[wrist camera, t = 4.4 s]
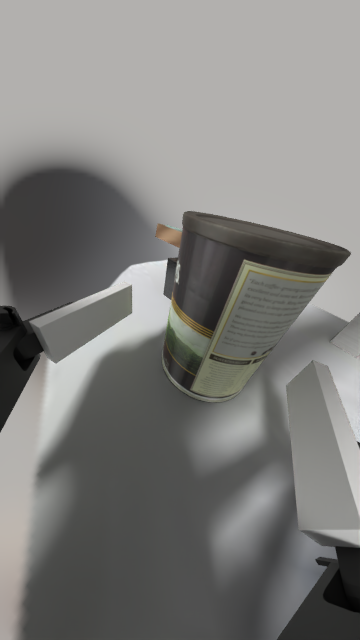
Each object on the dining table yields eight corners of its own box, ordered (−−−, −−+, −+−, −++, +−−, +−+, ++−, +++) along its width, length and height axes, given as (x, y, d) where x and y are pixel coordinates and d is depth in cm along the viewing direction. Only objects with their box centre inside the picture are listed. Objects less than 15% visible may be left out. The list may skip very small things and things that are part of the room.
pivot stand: (283, 296, 40) (309, 255, 34) (216, 335, 23) (245, 267, 17) (221, 267, 51) (232, 232, 45) (143, 279, 34) (146, 225, 28)
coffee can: (142, 372, 16) (151, 206, 8) (182, 322, 24) (208, 212, 16) (241, 426, 14) (406, 268, 5) (250, 350, 22) (323, 238, 13)
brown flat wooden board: (284, 273, 38) (289, 264, 37) (222, 268, 19) (230, 249, 18) (233, 253, 46) (236, 245, 45) (154, 235, 27) (156, 221, 26)
